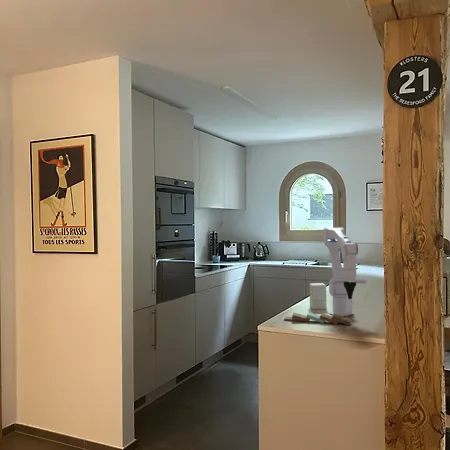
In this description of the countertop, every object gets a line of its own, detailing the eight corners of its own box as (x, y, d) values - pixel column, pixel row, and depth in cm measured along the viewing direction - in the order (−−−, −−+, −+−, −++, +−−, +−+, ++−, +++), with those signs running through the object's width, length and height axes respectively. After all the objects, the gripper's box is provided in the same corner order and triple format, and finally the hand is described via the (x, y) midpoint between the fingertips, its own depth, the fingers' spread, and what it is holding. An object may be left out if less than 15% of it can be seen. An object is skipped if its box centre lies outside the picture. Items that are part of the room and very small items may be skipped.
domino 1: (301, 323, 214) (284, 322, 217) (303, 321, 219) (286, 319, 222) (301, 319, 214) (284, 318, 217) (303, 317, 218) (286, 316, 221)
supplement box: (323, 306, 249) (323, 282, 248) (326, 309, 241) (326, 284, 241) (309, 306, 248) (309, 283, 248) (312, 309, 241) (312, 285, 241)
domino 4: (336, 324, 208) (319, 318, 211) (338, 322, 212) (321, 316, 215) (337, 321, 208) (320, 315, 210) (339, 319, 212) (322, 313, 215)
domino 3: (323, 323, 210) (306, 317, 213) (325, 321, 215) (308, 315, 217) (324, 320, 210) (307, 314, 213) (326, 317, 215) (309, 312, 217)
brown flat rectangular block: (349, 325, 206) (331, 319, 208) (350, 323, 210) (333, 316, 213) (350, 322, 206) (332, 315, 208) (351, 319, 210) (334, 313, 213)
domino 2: (309, 322, 212) (291, 318, 214) (309, 319, 217) (292, 315, 218) (309, 319, 212) (292, 315, 214) (310, 316, 217) (293, 312, 218)
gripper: (332, 269, 212) (332, 299, 212) (365, 270, 206) (365, 301, 207) (334, 268, 219) (335, 297, 219) (367, 268, 213) (367, 298, 213)
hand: (350, 298), depth 213 cm, fingers closed
